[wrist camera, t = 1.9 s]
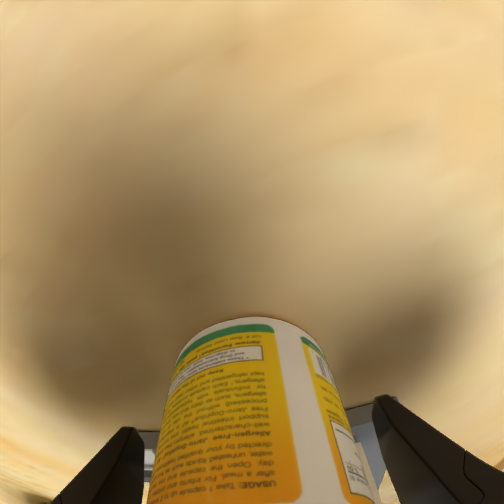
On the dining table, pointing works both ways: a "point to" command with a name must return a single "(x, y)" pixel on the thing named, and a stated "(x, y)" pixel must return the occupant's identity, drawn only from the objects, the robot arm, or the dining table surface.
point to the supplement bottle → (255, 422)
